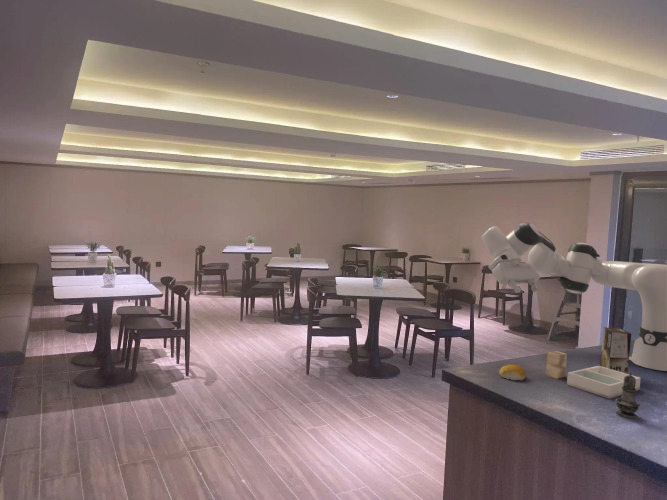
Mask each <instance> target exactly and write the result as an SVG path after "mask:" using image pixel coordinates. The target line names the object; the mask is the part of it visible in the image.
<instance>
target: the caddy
mask: <svg viewBox="0 0 667 500" xmlns="http://www.w3.org/2000/svg"><path fill="white" fill-rule="evenodd" d="M629 374H630V373H628V374H626V373H622V372H619V371H615V370H612V369H608V368H605V367H601V366H600V365H596V366H592V367H586V368H582V369H578V370H573V371H569V372H567V377H566V379H567V380H566V386H571V387H573V388H575V389H579V390H582V391H585V392H588V393H591V394H593V395H595V396H596V395H598V396H600V397H602V398H606V399H609V400H610V399H613V398H617V397H621V396H622V391H623V389H622V387H623V384H624V377H625V376H628V375H629ZM631 376H633V377H634V378H635V379H636V384H635V389H636V390H637V391H640V389H641V377H639V376H635V375H634V374H632V375H631Z"/></svg>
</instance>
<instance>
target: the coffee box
mask: <svg viewBox="0 0 667 500" xmlns="http://www.w3.org/2000/svg"><path fill="white" fill-rule="evenodd" d="M632 334H633V333H631V332H629V331H627V330H626V329H623V328H619V327H606V326H605V327H604V326H603V328H602V339H601V351H600V363H599V366H601V367H605V368H608V369H612V370H615V371H619V372H622V373H626V374H629V373H628V372H629V364H630V363H629V361H630V360H629V356H630V353H631V352H630V351H631V342H632Z"/></svg>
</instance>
